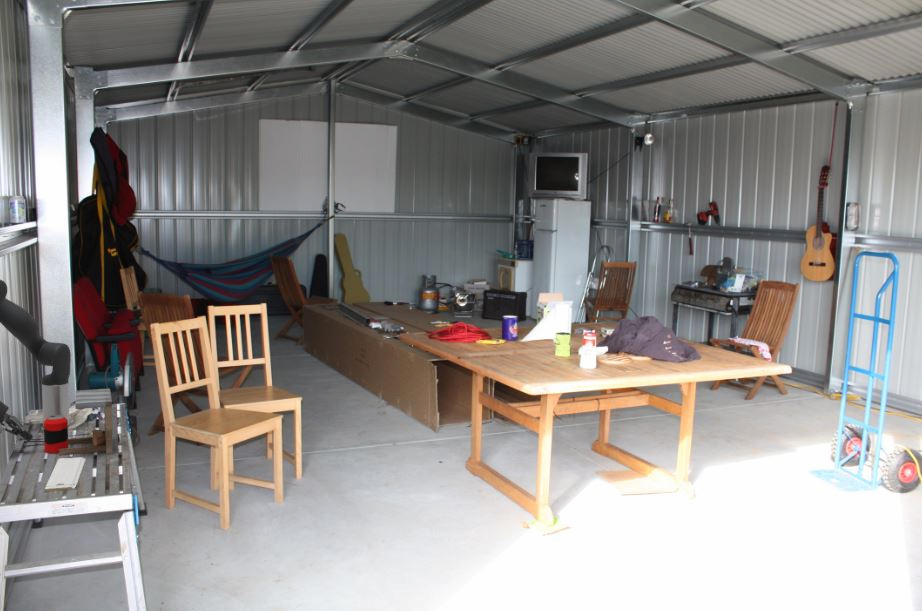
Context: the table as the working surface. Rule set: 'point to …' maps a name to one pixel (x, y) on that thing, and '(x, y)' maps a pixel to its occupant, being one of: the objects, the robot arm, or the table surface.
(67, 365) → the robot arm
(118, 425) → the table surface
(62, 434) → the soda can
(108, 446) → the overhang shelf
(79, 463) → the baseboard
